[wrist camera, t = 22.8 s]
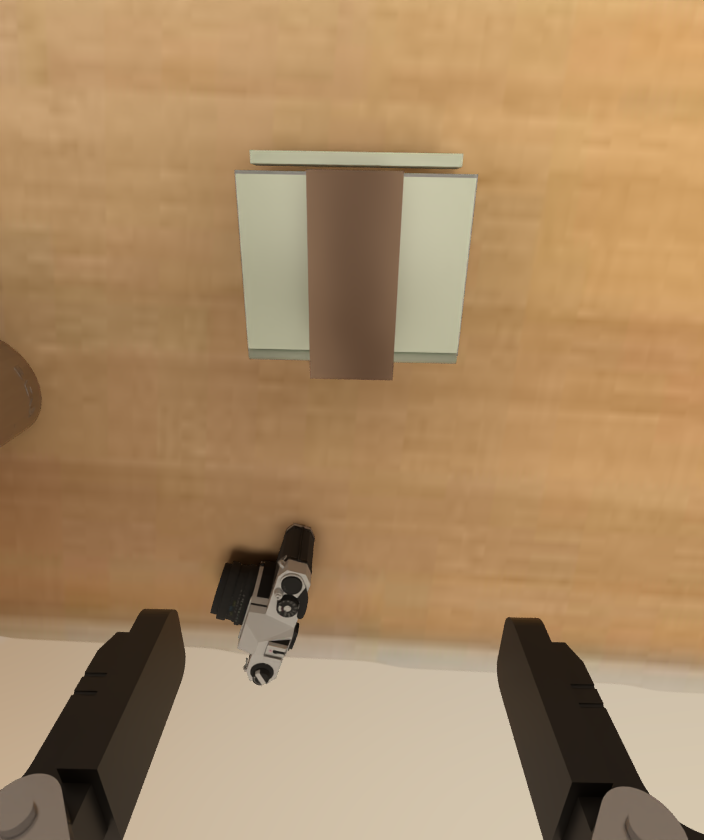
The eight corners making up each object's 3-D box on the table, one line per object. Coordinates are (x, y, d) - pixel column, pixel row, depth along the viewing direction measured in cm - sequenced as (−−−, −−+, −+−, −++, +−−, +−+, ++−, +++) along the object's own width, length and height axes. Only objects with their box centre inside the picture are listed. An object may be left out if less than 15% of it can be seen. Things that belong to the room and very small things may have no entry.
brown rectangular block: (320, 345, 29) (309, 378, 23) (318, 177, 25) (305, 169, 19) (386, 346, 28) (392, 380, 23) (394, 178, 25) (404, 170, 19)
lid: (254, 353, 30) (249, 360, 29) (240, 152, 26) (233, 149, 24) (451, 357, 30) (455, 365, 29) (472, 156, 26) (479, 153, 24)
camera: (238, 504, 43) (210, 575, 35) (322, 524, 44) (313, 598, 36) (216, 606, 48) (187, 689, 40) (291, 622, 49) (277, 707, 41)
